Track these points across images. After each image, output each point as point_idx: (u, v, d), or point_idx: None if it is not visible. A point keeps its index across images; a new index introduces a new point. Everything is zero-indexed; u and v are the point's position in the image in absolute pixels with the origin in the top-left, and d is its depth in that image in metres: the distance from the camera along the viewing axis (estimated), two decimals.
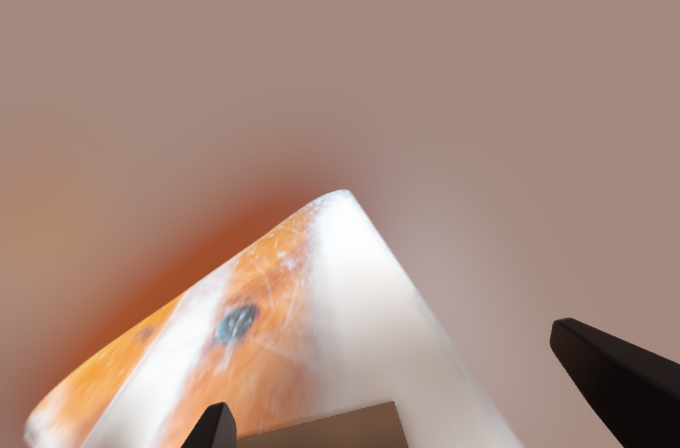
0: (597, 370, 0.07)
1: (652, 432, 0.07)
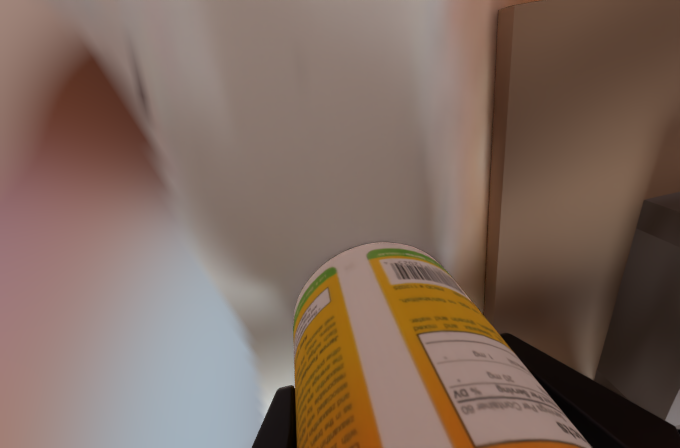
0: None
1: None
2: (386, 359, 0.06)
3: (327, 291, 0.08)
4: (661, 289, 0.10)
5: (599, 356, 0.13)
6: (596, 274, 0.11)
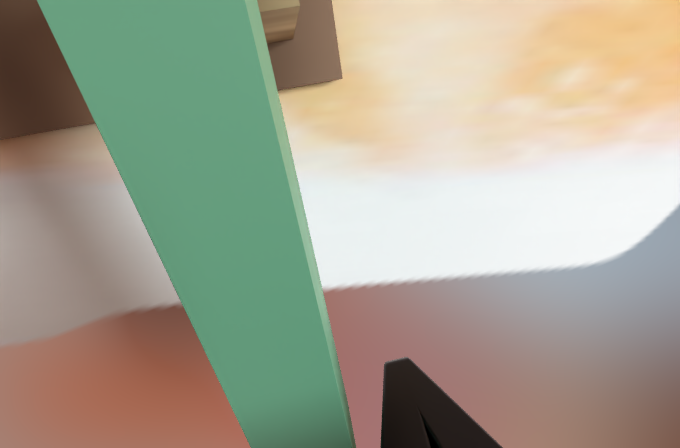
0: None
1: None
2: None
3: None
4: None
5: None
6: None
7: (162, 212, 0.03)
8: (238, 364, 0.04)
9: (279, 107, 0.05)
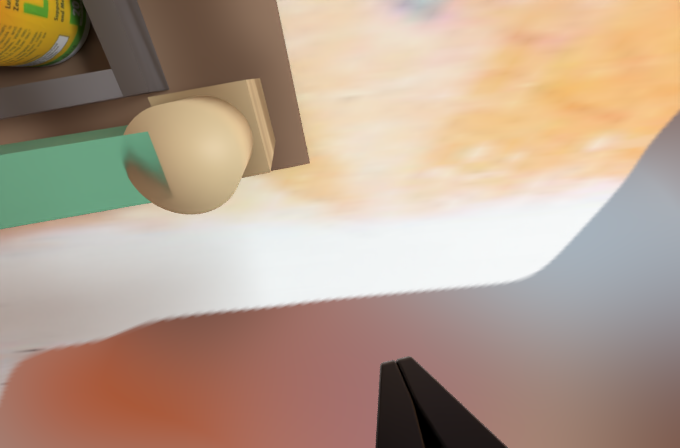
0: None
1: None
2: None
3: None
4: (15, 116, 0.14)
5: (130, 99, 0.15)
6: (47, 137, 0.15)
7: (3, 166, 0.07)
8: None
9: None
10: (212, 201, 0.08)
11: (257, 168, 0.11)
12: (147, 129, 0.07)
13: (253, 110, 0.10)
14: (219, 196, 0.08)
